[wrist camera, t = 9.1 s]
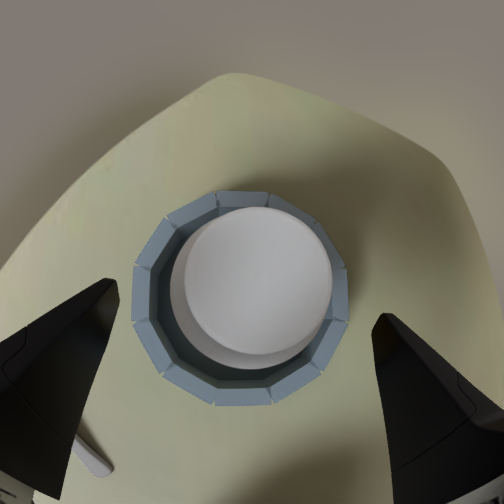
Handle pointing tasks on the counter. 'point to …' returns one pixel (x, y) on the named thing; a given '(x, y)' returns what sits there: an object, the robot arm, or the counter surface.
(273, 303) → the supplement bottle
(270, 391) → the bowl
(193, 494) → the counter surface
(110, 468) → the spoon
